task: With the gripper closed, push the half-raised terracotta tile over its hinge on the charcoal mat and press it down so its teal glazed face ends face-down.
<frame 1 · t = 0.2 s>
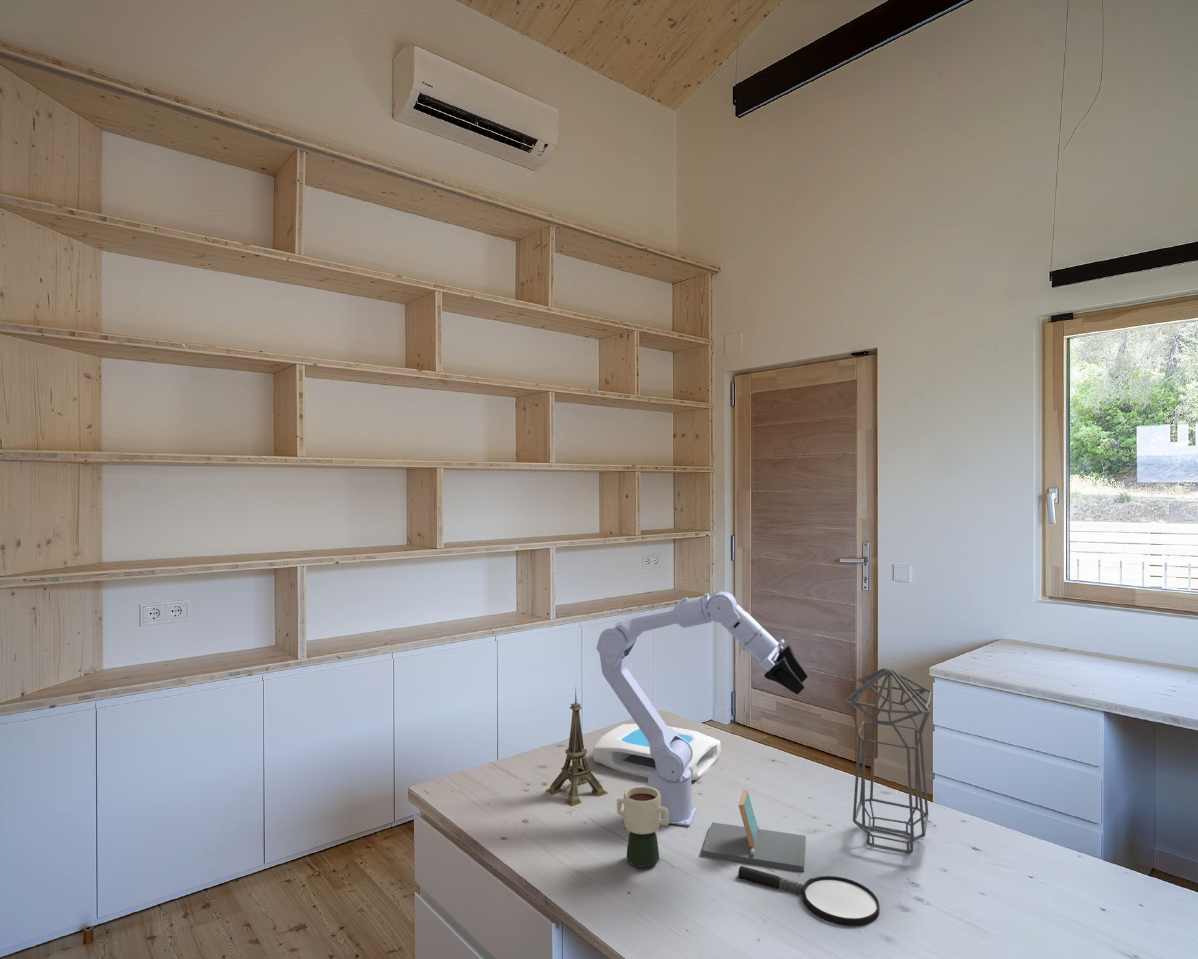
hand: (802, 685, 140), 31 cm above the table, tool tilted 45°, fingers open, 7 cm apart
magnifying glass: (806, 897, 119), on the table
geometric lantern: (891, 843, 137), on the table
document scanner: (657, 762, 180), on the table
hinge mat: (754, 847, 135), on the table
eiffel tower: (576, 793, 162), on the table
tile: (748, 817, 136), point 6 cm above the table, hinge at 75.0°
character mug: (643, 862, 131), on the table
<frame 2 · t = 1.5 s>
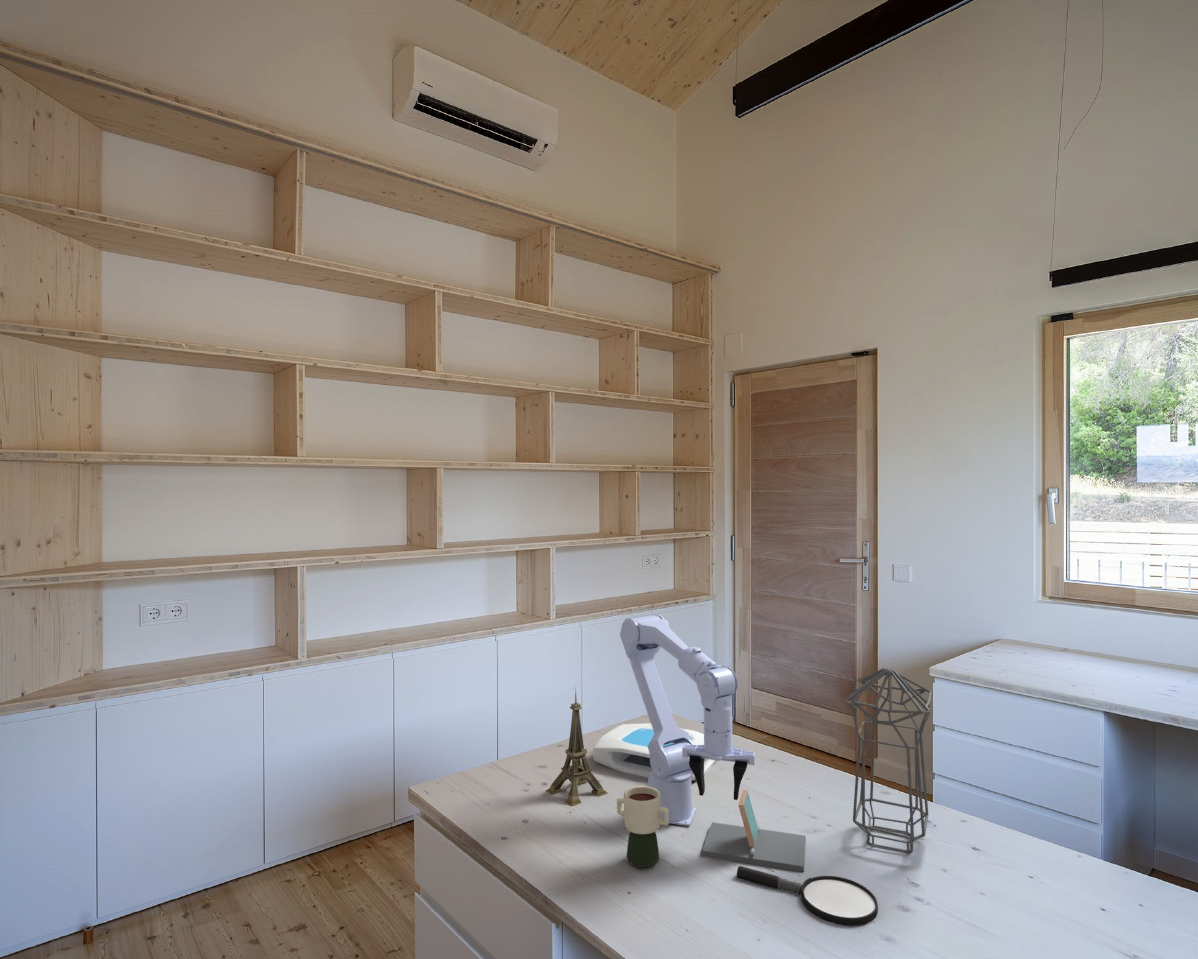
hand: (719, 795, 138), 9 cm above the table, tool pointing down, fingers open, 6 cm apart
nothing on the table moved.
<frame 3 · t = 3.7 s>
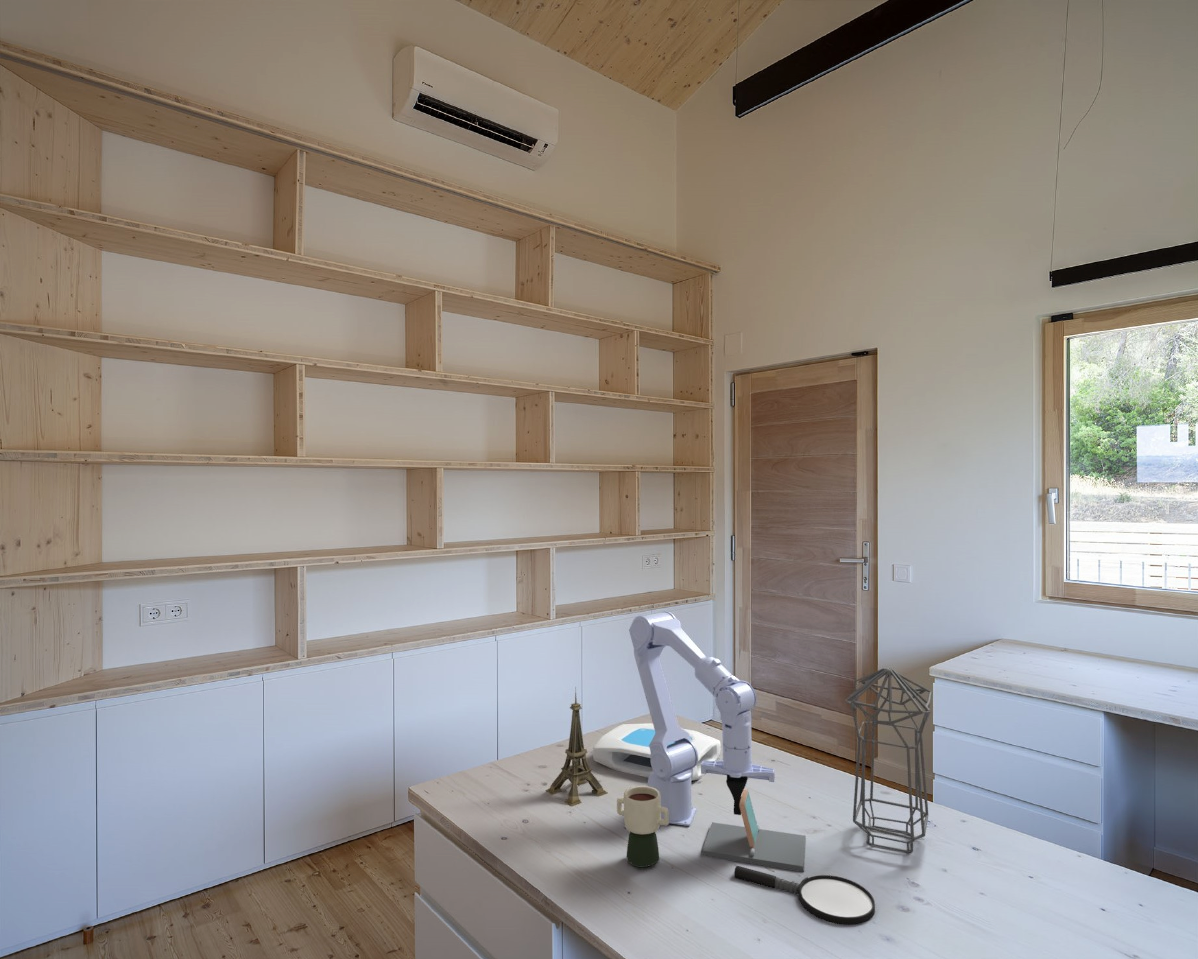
hand: (738, 812, 136), 7 cm above the table, tool pointing down, fingers closed, pressing on tile
tile: (749, 817, 136), point 6 cm above the table, hinge at 76.0°, touching gripper
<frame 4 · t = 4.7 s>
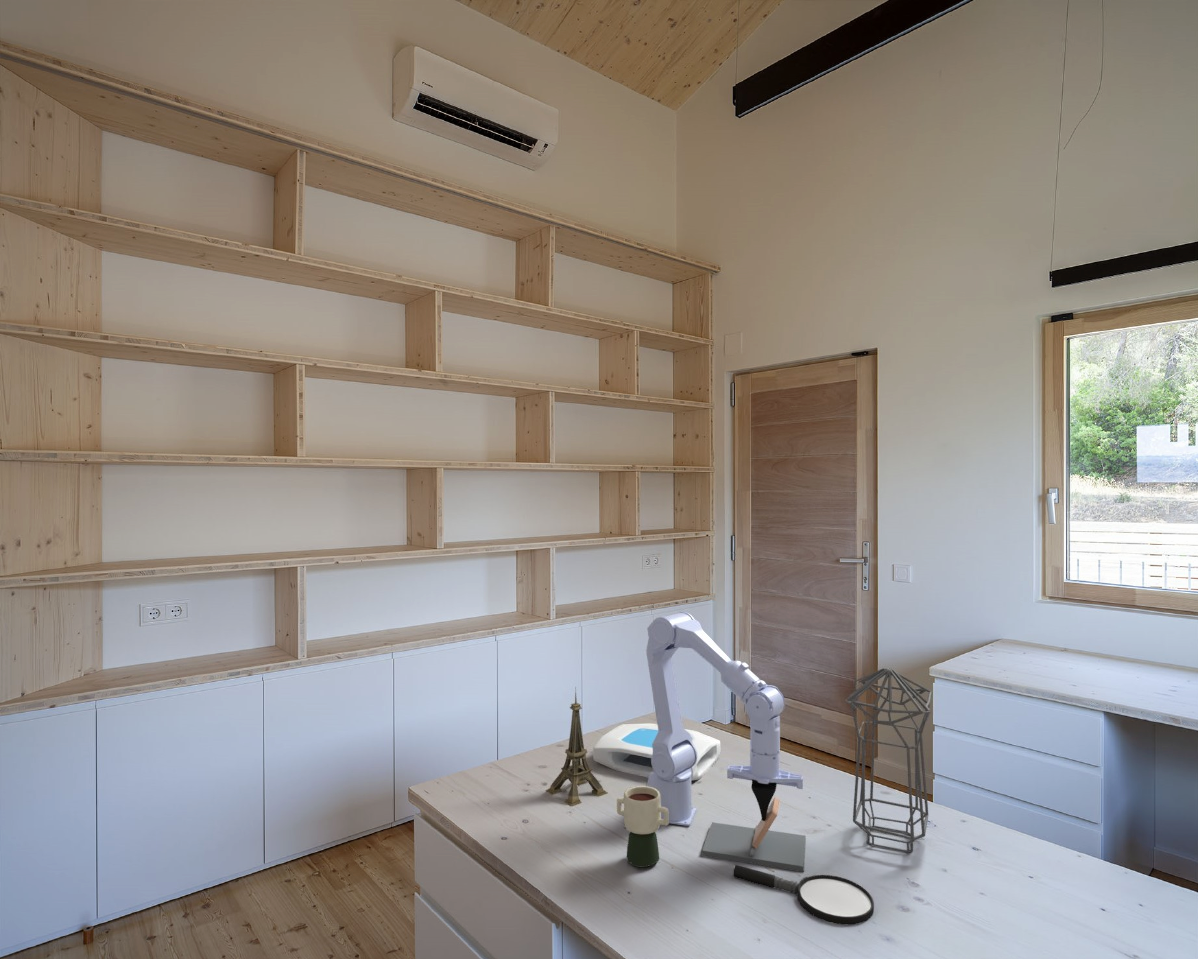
hand: (764, 818, 135), 6 cm above the table, tool pointing down, fingers closed, pressing on tile
tile: (766, 822, 135), point 5 cm above the table, hinge at 119.9°, touching gripper
everything else where it was.
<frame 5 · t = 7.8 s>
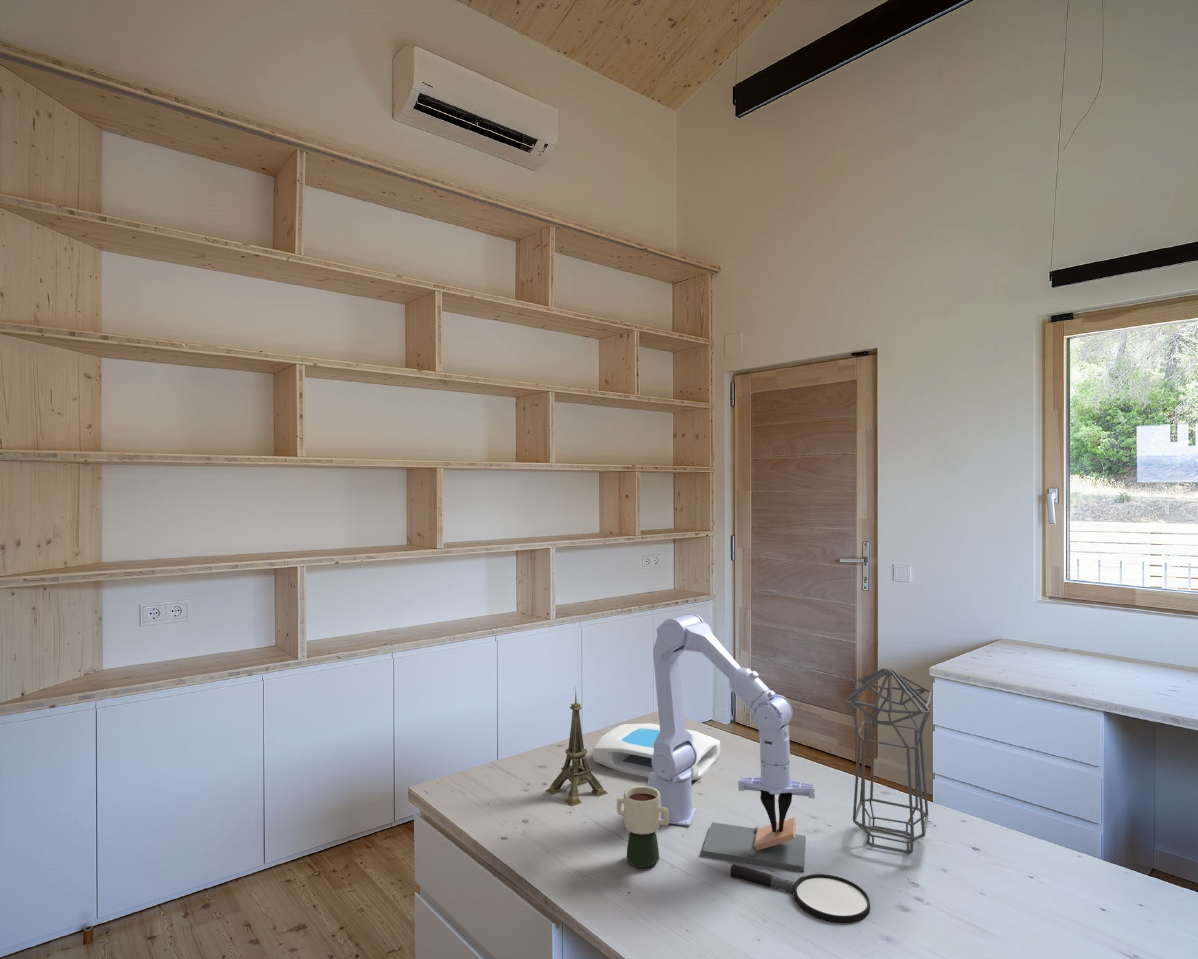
hand: (777, 829, 134), 4 cm above the table, tool pointing down, fingers closed
tile: (775, 833, 134), point 3 cm above the table, hinge at 155.1°, touching gripper
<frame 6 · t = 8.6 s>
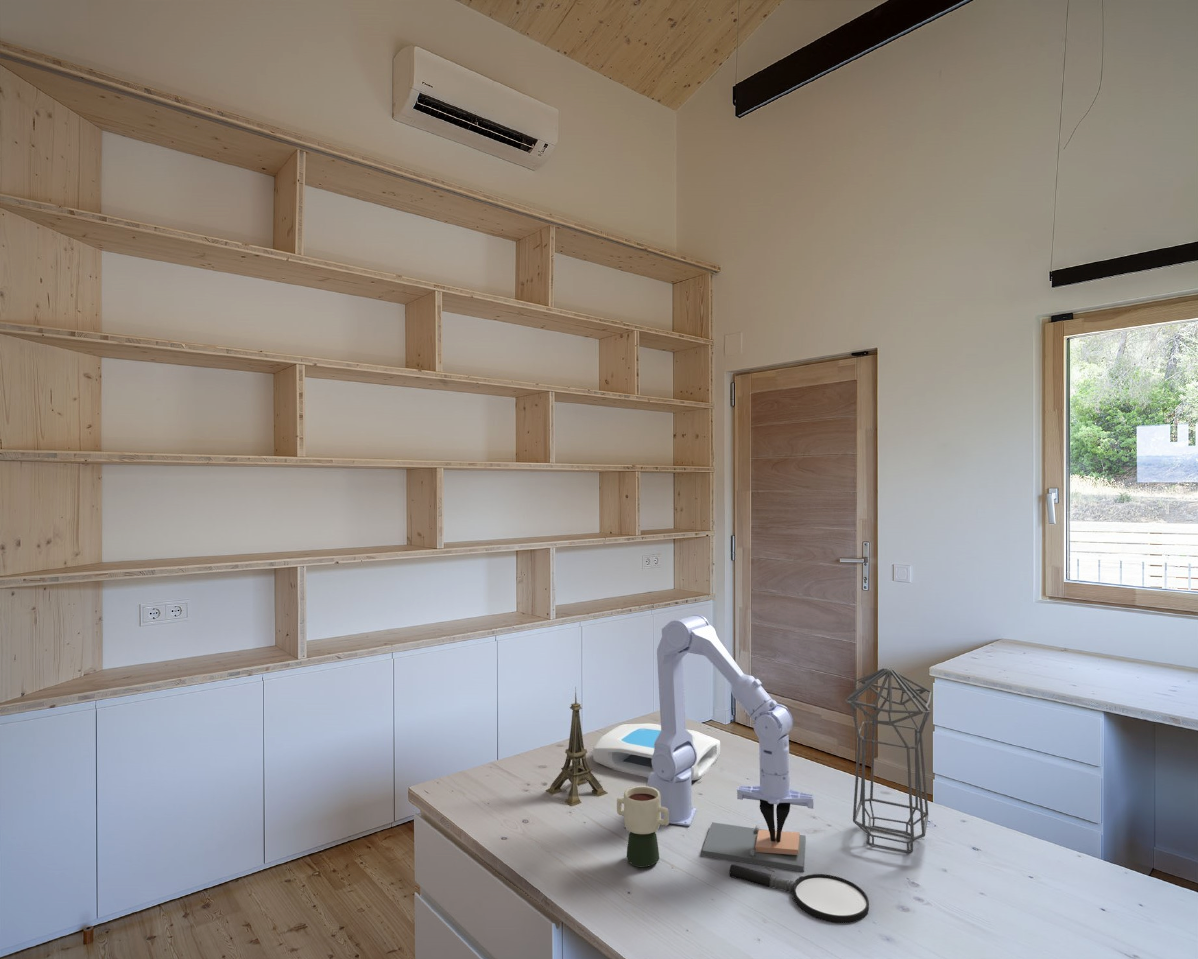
hand: (775, 839, 134), 2 cm above the table, tool pointing down, fingers closed
tile: (778, 841, 134), point 2 cm above the table, hinge at 175.4°, touching gripper
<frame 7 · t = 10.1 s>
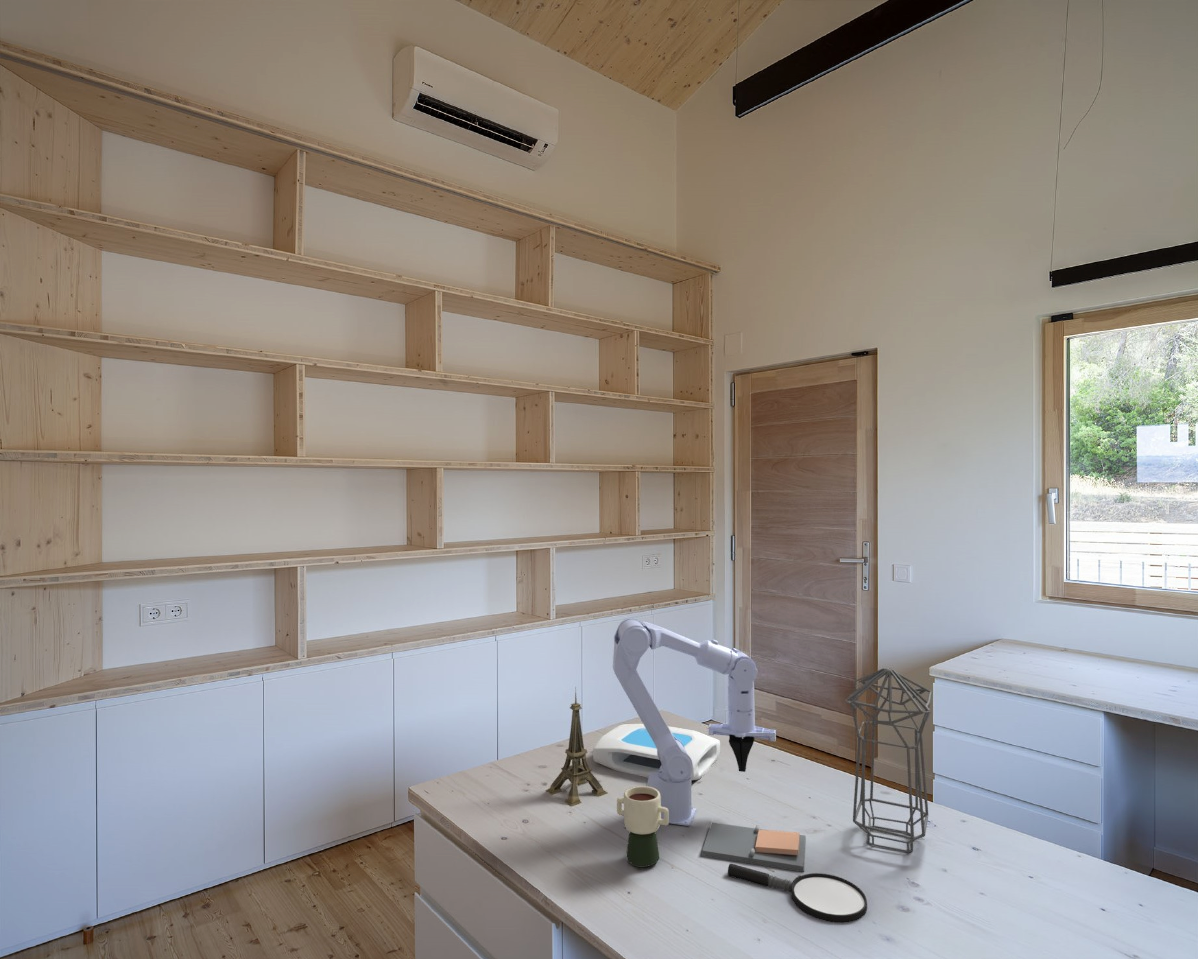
hand: (742, 769, 150), 9 cm above the table, tool pointing down, fingers closed
tile: (778, 842, 134), point 2 cm above the table, hinge at 175.6°
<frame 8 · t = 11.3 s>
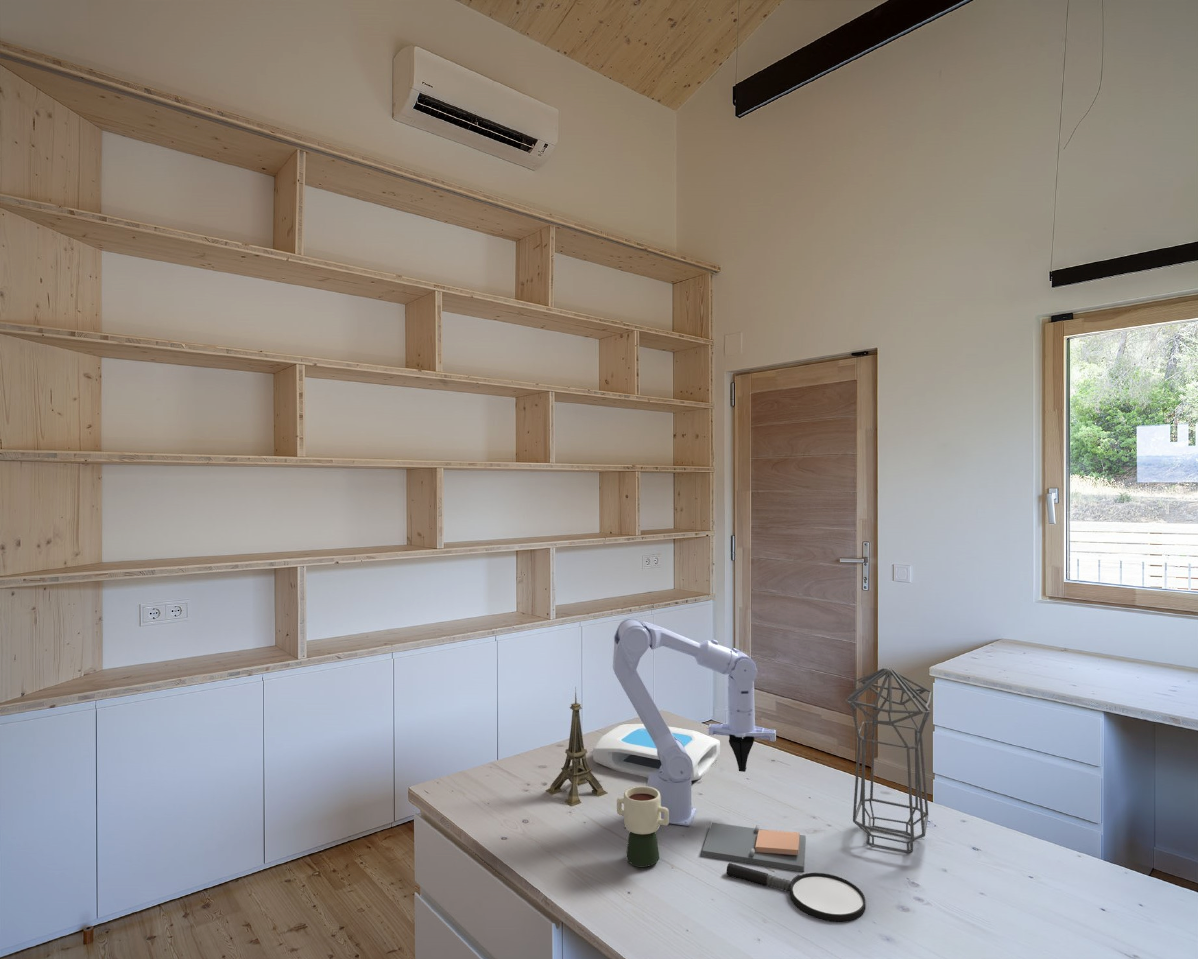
hand: (742, 769, 150), 9 cm above the table, tool pointing down, fingers closed
at the end: tile at +176° (first picture: +75°); the gripper is holding nothing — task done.
